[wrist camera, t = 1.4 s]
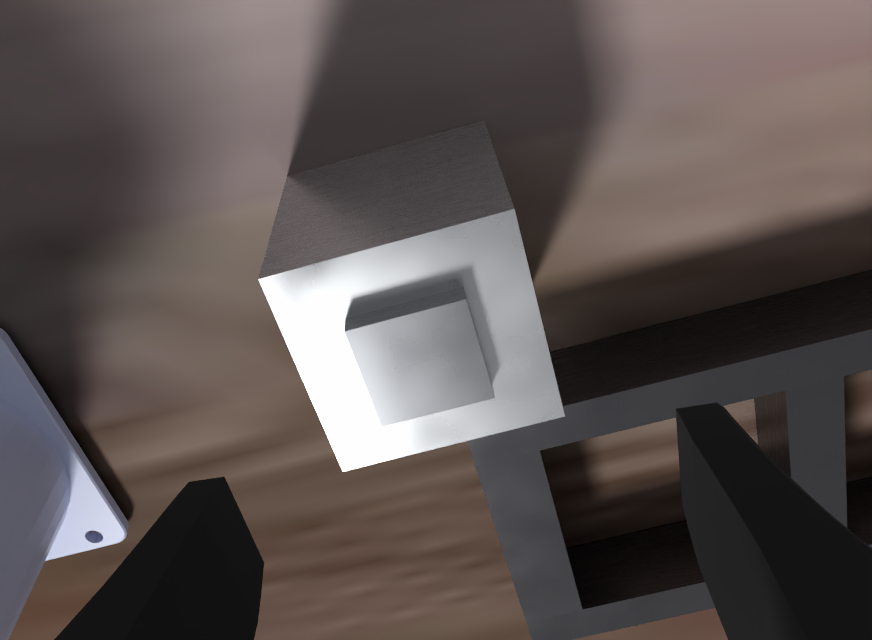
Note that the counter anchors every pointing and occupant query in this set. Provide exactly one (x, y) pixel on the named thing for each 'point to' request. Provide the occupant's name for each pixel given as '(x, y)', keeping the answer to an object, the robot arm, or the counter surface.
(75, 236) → the counter surface
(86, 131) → the counter surface
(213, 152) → the counter surface
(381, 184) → the block
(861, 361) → the grey flat rectangular frame
